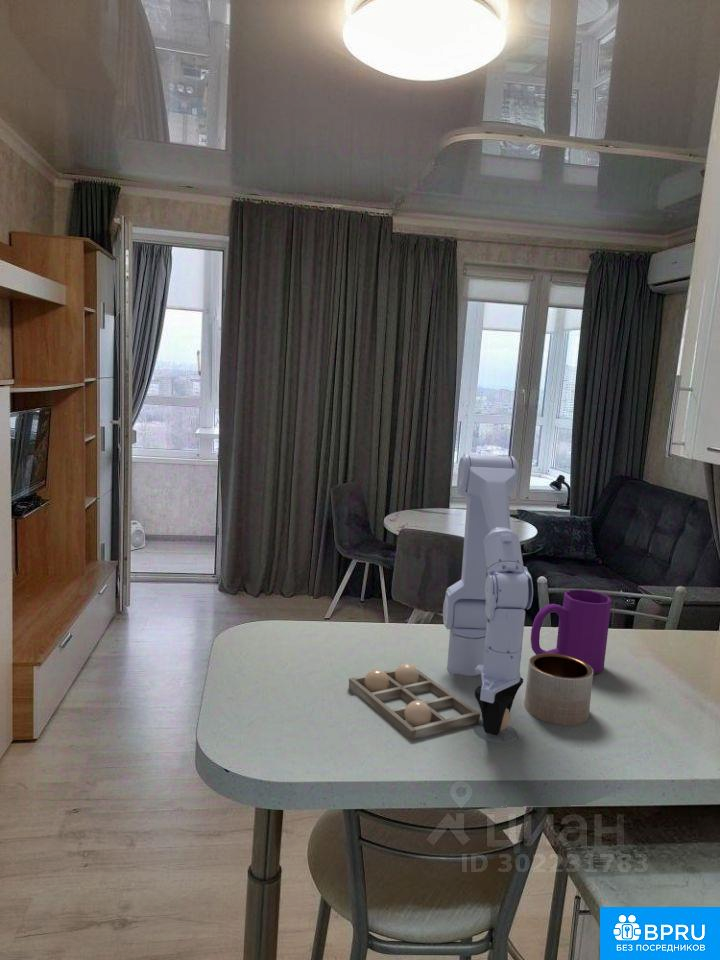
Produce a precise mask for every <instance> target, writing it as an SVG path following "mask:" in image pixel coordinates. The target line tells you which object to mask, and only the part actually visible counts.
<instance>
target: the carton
mask: <svg viewBox="0 0 720 960" xmlns="http://www.w3.org/2000/svg"><path fill="white" fill-rule="evenodd" d="M396 669H397V668H394V669H389V670H385V671H384V670H383V671H384V672H385V673H386V674H387V676H388V678H389V686H388V689H386V690H382V691H377V692H372V693H371V692H370V691H369V690H367V689H366V687H365V684H364V681H365V677H366V675H367V674H364V675H360V676H355V677H354V676H353V677H351V678H350V677H349V678H348V690H349V691H350V692H351V693H352V694H354V696H358V697H360V698H362V699H363V700H364V701H365V702H366V703H367V704H369V706H371V708H373V709H374V710H375V711H376V712H378V713H379V714H380V715H381V716H382V717H383V718H385V719H386V721H387V722H389V723H390V724H392V725H393V726H394V727H395V728H396V729H398V730H399V732H401V733H402V734H403V735H404V736H406V738H407V739H409V740H410V741H413V740H417V739H421V738H426V737H429V736H433V735H436V734H440V733H444V732H448V731H452V730H455V729H459V728H463V727H467V726H470V725H473V724H474V725H475V724H477V723H479V722H480V720H481V712H479V711H477V710H476V709H475V708H473V707H472V706H470V705H469V704H467V703H466V702H465V701H463V700H462V699H460V698H459V697H457V696H456V695H455V694H453V693H452V692H450V691H449V690H448V689H446V688H444V687H443V686H442V685H440V684H439V683H438V682H436V681H435V680H433V679H432V678H431V677H428V675H426V674H424V673H423V672H422V671H420V670H419V669H417V670H418V673H419V679H418V682H417V683H414V684H409V685H405V686H402V685H400V684H399V683H398V682H396V680H395V671H396ZM429 691H431V692H432V693H433V694H434V695H436V696H437V697H438V698H437V697H436V698H434V699H431V700H430V699H429V700H424V702H425V703H426V704H427V705H428V706H429V708H430V710H431V720H430V723H429V724H425V725H421V726H417V727H412V726H411V725H409V724H408V723H407V722H406V721H405V720H404V719H405V717H404V711H405V708H406V706H407V705H404V706H401V707H396V708H390V707H389V706H388V705H387V704H385V703H384V702H385V701H388V700H394V699H398V698H401V699H402V700H403V701H405V703H407V704H409V703H410V702H412V701H416V700H419V701H422V700H421V699H420V698H419V697H417V696H416V694H420V693H425V692H429ZM449 707H450V708H451V707H453V708H454V709H455V710H456V711H458V712H460V713H461V715H458V716H454V717H448V718H445V717H444V716H442V715H441V714H440V713H438V712H437V710H441V709H442V710H443V709H445V708H449Z"/></svg>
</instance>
